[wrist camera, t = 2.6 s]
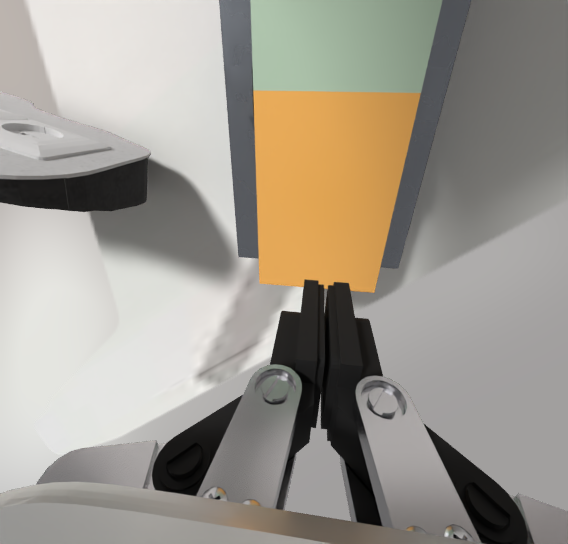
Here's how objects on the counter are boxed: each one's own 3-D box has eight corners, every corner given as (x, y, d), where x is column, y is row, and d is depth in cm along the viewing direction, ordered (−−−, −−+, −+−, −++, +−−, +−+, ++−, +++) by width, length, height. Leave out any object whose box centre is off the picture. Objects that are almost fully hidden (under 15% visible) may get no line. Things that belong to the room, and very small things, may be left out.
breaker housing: (236, -134, 14) (160, -359, 8) (473, -149, 13) (635, -427, 6) (252, 232, 25) (227, 277, 18) (384, 240, 24) (409, 291, 17)
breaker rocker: (254, -298, 8) (237, -405, 7) (497, -326, 8) (547, -453, 6) (265, 267, 18) (259, 283, 17) (369, 275, 18) (374, 292, 16)
